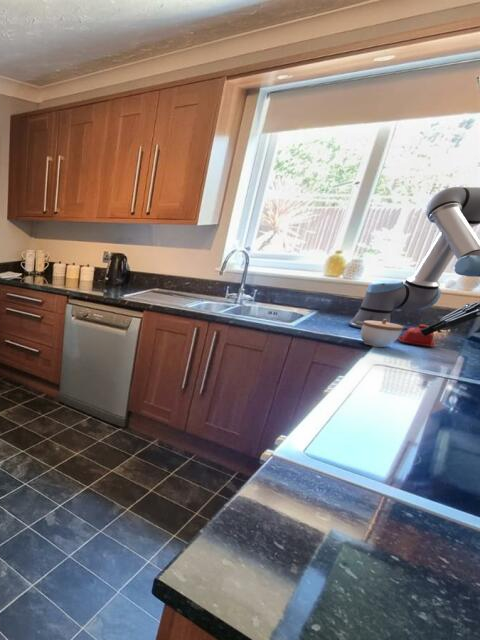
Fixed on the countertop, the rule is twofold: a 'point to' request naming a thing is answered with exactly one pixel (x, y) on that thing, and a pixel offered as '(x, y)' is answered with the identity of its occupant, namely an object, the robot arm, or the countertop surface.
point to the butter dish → (417, 337)
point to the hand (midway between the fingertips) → (422, 333)
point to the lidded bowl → (380, 333)
